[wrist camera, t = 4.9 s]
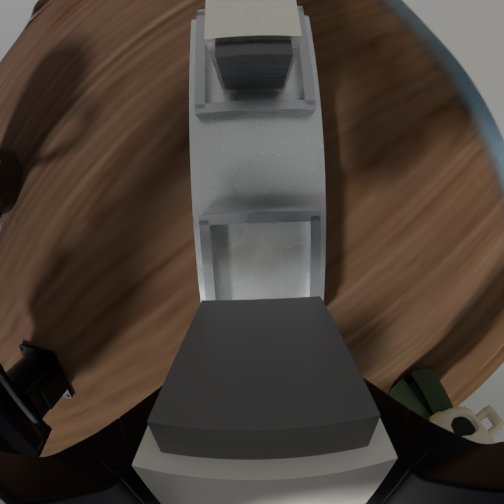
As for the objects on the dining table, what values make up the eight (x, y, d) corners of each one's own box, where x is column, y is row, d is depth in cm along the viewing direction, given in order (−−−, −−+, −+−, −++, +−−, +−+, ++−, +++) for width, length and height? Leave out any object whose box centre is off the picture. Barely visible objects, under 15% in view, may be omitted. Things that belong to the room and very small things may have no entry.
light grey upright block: (213, 397, 10) (187, 531, 4) (196, 285, 8) (112, 436, 3) (315, 393, 9) (345, 527, 4) (324, 280, 8) (415, 427, 2)
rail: (209, 320, 20) (186, 390, 12) (196, 33, 15) (169, -31, 7) (316, 316, 20) (345, 384, 12) (304, 29, 15) (326, -37, 7)
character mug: (447, 338, 20) (524, 416, 8) (451, 379, 22) (508, 450, 9) (354, 397, 22) (397, 507, 9) (371, 429, 23) (405, 519, 10)
